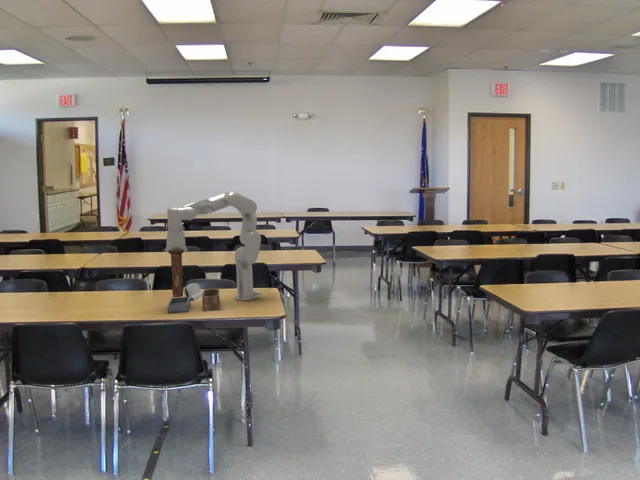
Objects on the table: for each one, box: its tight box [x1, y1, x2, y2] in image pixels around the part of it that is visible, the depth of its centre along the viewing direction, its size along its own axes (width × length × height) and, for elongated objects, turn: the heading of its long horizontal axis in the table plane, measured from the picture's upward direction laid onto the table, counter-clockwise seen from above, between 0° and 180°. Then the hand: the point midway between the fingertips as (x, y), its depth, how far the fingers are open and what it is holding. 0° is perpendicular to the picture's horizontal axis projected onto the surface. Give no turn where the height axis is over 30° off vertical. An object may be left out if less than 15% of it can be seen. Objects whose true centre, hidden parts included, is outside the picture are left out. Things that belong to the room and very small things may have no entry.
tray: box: [166, 296, 191, 314], centre depth 312 cm, size 11×22×4 cm, turn 10°
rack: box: [201, 288, 221, 312], centre depth 315 cm, size 9×21×8 cm, turn 10°
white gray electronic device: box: [183, 282, 203, 301], centre depth 339 cm, size 17×5×10 cm, turn 168°
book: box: [170, 250, 184, 298], centre depth 310 cm, size 16×6×25 cm, turn 14°
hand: (176, 261), depth 309 cm, fingers closed on book
